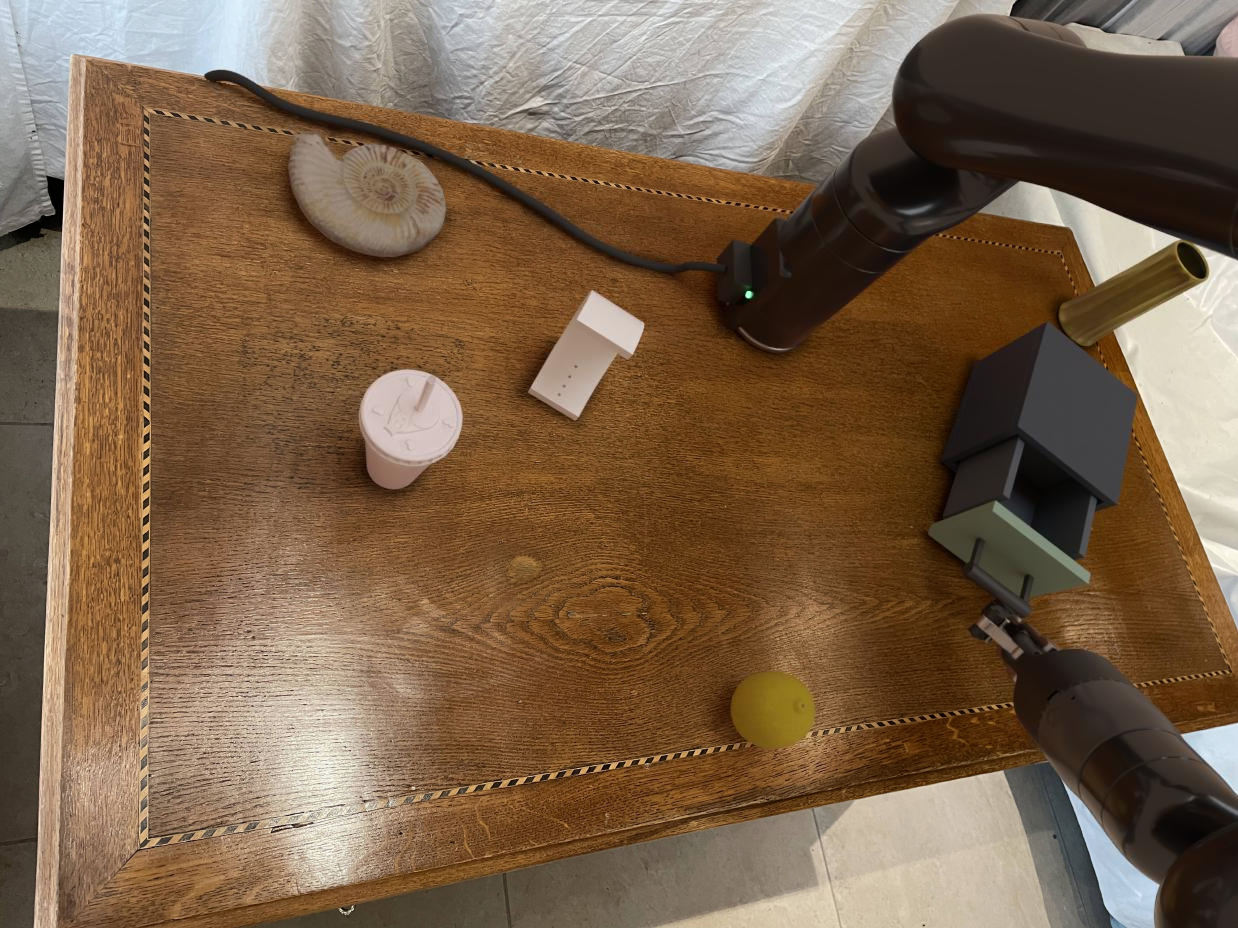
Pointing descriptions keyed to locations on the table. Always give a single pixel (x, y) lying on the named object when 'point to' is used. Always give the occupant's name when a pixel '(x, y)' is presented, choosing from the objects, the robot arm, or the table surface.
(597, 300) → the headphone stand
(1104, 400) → the cabinet
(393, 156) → the fossil
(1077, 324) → the vase
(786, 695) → the lemon
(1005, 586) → the drawer
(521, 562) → the table surface
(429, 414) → the smoothie
